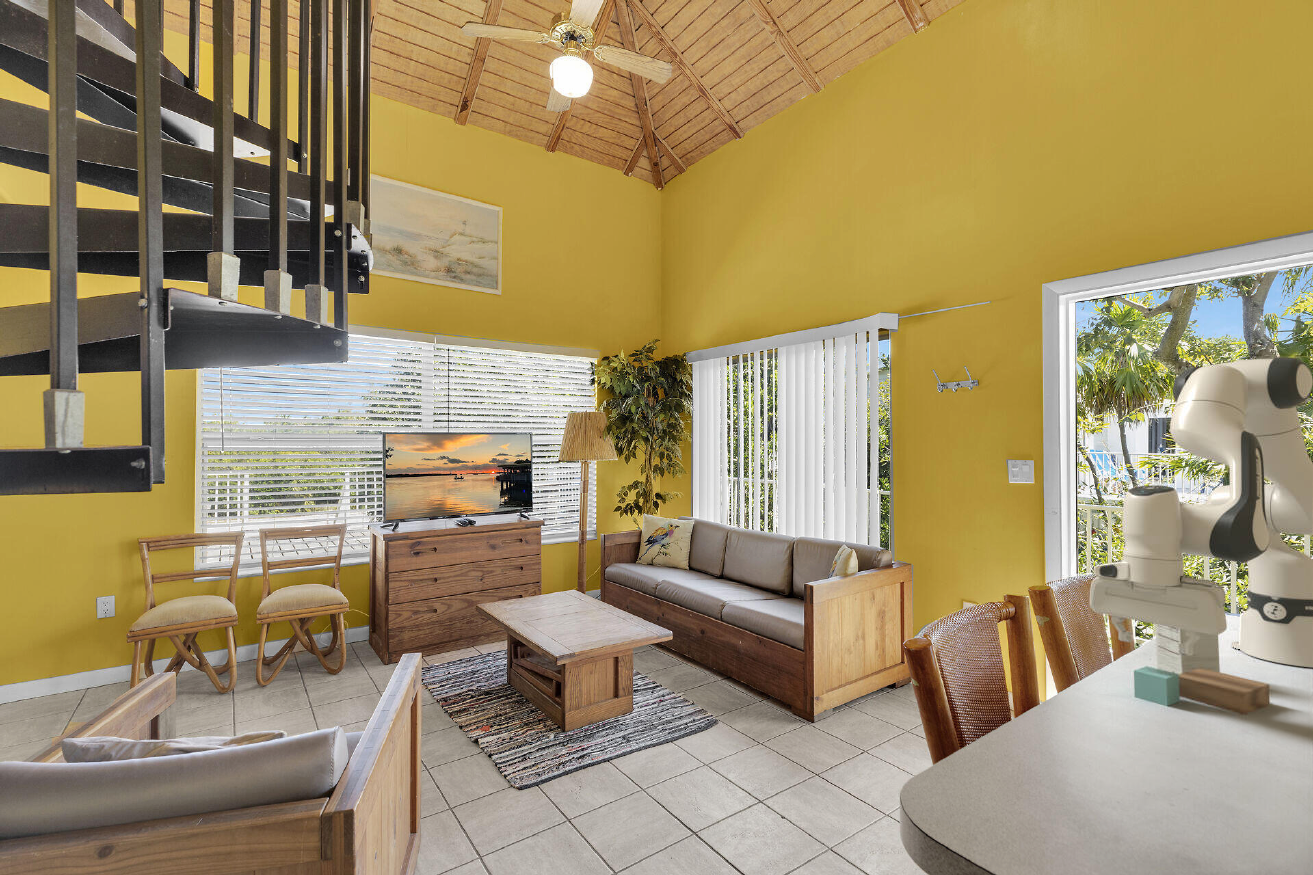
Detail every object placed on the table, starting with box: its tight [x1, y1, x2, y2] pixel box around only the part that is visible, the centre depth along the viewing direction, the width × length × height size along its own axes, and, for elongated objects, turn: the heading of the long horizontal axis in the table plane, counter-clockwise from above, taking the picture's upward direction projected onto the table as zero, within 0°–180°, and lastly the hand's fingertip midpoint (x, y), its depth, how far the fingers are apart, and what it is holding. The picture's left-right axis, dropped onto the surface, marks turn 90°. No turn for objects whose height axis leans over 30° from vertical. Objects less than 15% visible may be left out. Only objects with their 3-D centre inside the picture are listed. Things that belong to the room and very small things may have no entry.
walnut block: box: [1179, 668, 1271, 716], centre depth 113 cm, size 10×10×4 cm
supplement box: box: [1155, 624, 1221, 674], centre depth 127 cm, size 7×7×13 cm
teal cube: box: [1133, 665, 1181, 707], centre depth 114 cm, size 5×5×5 cm
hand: (1154, 647), depth 114 cm, fingers open, 8 cm apart
